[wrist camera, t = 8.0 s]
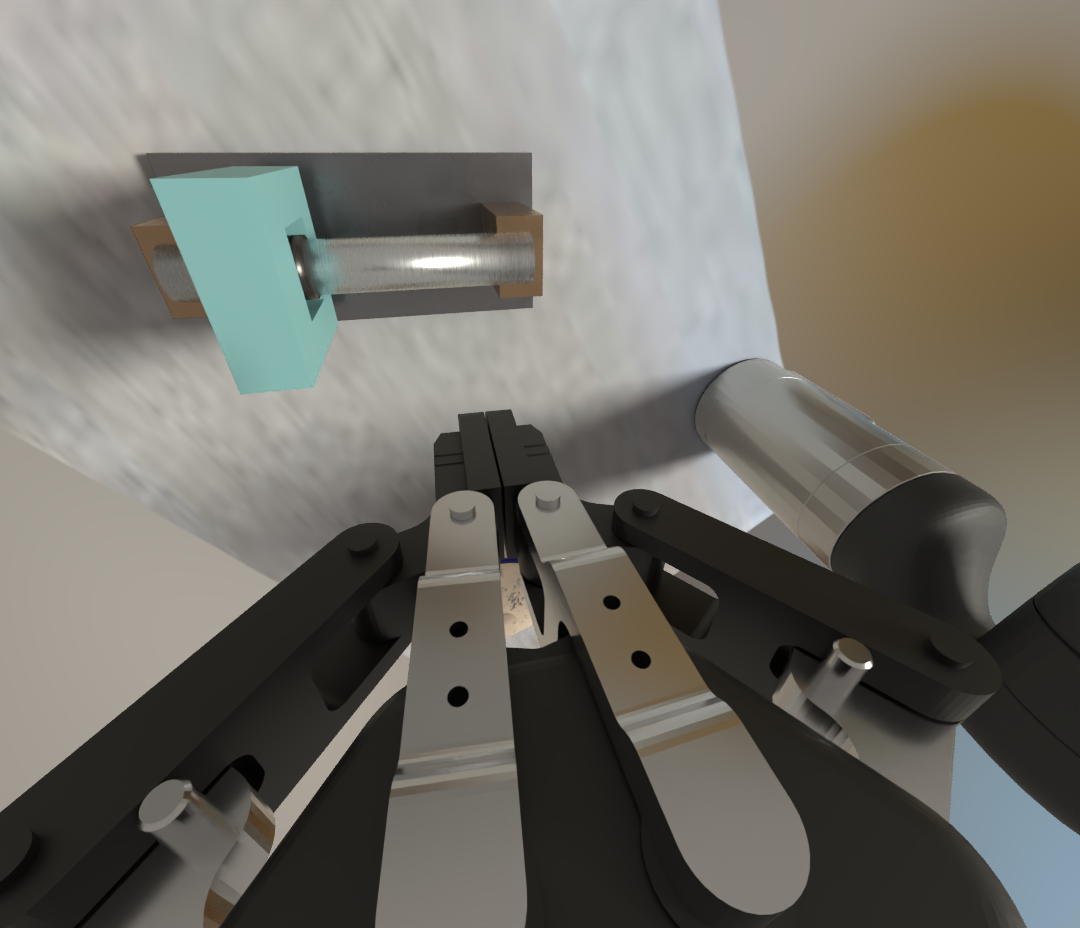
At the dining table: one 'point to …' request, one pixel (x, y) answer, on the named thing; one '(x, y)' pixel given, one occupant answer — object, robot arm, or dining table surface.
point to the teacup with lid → (513, 598)
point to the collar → (251, 270)
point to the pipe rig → (387, 232)
